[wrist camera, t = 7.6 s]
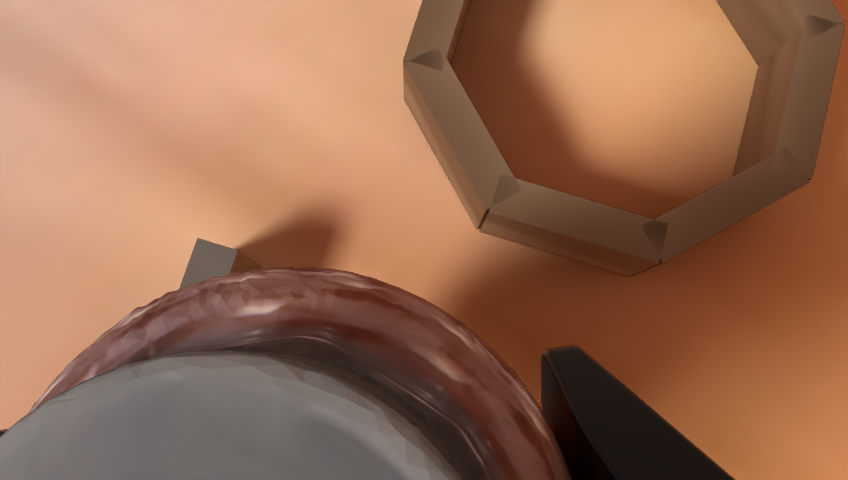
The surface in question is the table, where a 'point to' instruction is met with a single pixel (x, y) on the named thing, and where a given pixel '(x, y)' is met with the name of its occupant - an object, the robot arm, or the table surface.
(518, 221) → the walnut collar
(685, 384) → the table surface
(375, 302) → the supplement bottle
